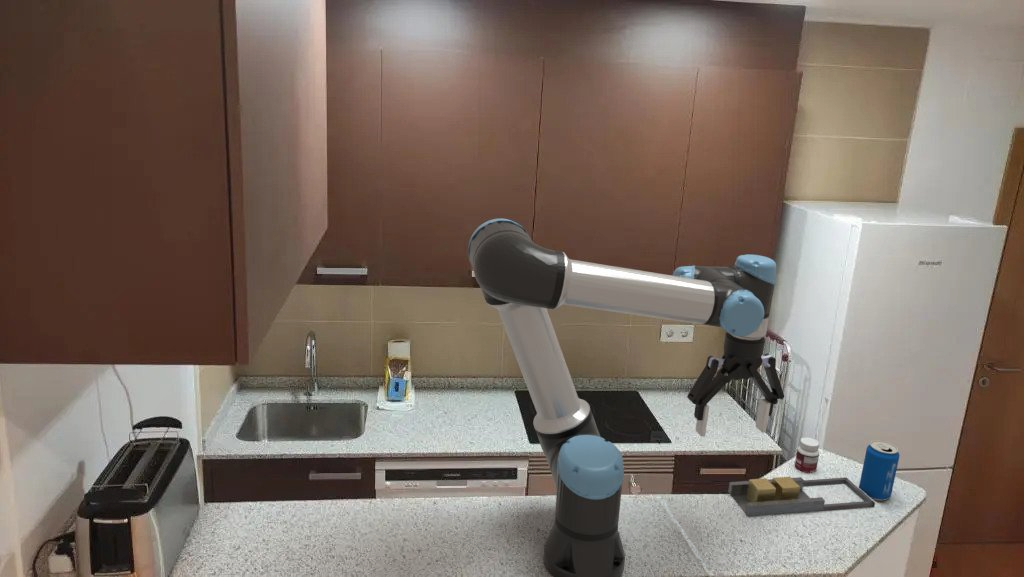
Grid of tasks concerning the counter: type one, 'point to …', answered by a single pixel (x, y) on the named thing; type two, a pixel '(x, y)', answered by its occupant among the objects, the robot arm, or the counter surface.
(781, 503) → the slot rail
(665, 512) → the counter surface
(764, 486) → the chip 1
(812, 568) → the counter surface
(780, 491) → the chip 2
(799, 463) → the pill bottle
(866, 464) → the beverage can
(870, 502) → the tray
